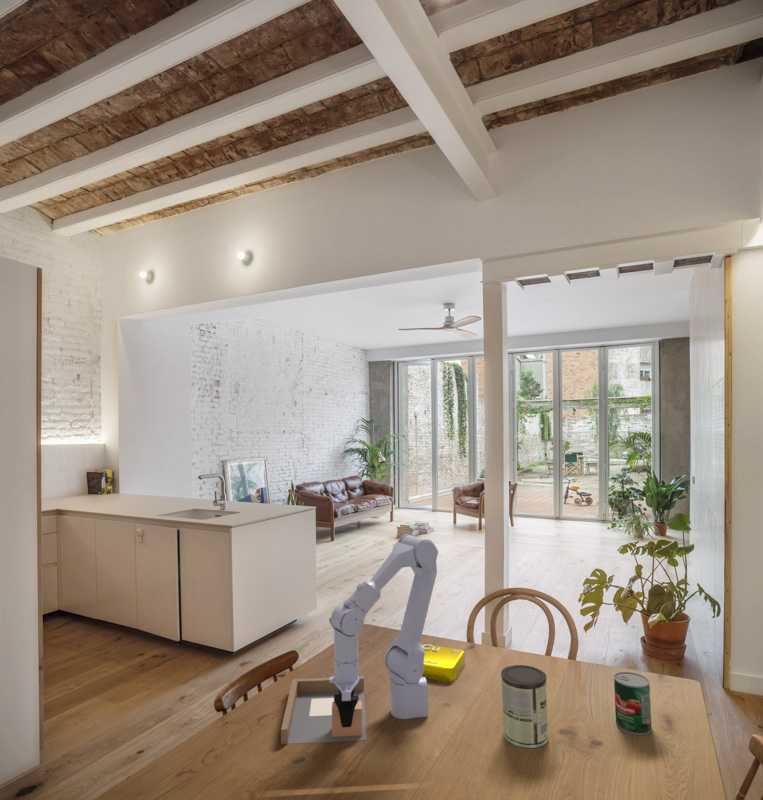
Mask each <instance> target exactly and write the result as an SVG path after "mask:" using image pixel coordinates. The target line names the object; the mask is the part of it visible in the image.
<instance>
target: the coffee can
mask: <svg viewBox="0 0 763 800" xmlns="http://www.w3.org/2000/svg"><path fill="white" fill-rule="evenodd" d="M500 676H501V689H502V690H501V691H502V720H503V737H504V738H505V740H506V741H508V742H509V744H512V745H514V746H517V747H520V748H524V749H525V748H526V749H536V748H540V747H543V746H545V745H546V744H547V743H548V741H549V729H548V727H549V725H548V708H547V707H548V705H547V704H548V701H547V700H548V699H547V698H548V697H547V675H546V673H545V672H544V671H543V670H542V669H539V668H537V667H534V666H531V665H525V664H524V665H523V664H516V665H509V666H506V667H504V668H503V669H502V670H501V671H500Z"/></svg>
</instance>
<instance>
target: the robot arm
mask: <svg viewBox="0 0 763 800" xmlns="http://www.w3.org/2000/svg"><path fill="white" fill-rule="evenodd" d="M438 555H439V549H438V548H437V547H436V544H435V543H434V542H433V541H432V540H431V539H428V538H422V537H417V536H415V535H412V534H409V533H406V534H403V535H401V537H399V539H398V541H396V542H395V543H394V544H393V547H392V550H391V552H390V554H389V555H388V556H387V558H386V560H385V559H384V561H383V563H382V564H381V565H380V567H379V568H378V570H376V573H375V574H374V575H373V576H372V577H371V579H370V580H364V581H362V582H361V583H358V584H357V585H356V589H355V590H354V592H353V593H352V594H351V595H350V596H349V597H348V598H347V599H345V600H344V601H343V604H340V605H337V606H336V607H335V608H334V609H333V610H332V613H331V616H330V617H329V619H328V620H329V624H330V626H331V627H332V628H333V634H334V635H333V646H334V647H333V654H334V655H333V661H334V663H333V665H334V667H333V669H334V674H333V675H334V676H332V675H331V676H329V678H330V679H329V682H330V683H334V684H335V685H336V686H337V688H338V690H339V694H338V695H334V701H335V704H336V705H337V708H338V710H339V715H340V720H341V725H342V727H351V725H352V720H353V714H354V709H355V706H356V704H357V702H358V699H359V695H355V696H353V695H354V690H355V687H356V685H357V684H358V682H359V632H360V631H361V630H362V627H363V625H364V621H365V619H366V616H367V614H368V613H369V612H370V611H371V610H372V609H373V607H374V606H375V605H376V603H377V602H378V601H379V600H380V599H381V590H382V589H383V588H384V587H385V586H386V585H387V584H388V583H389V582H390V581H391V580H392V579H393V578H394V577H395V576H396V575H397V574H398V573H399V572H400V570H402V569H403V568H411V570H412V572H413V573H414V575H413V580H412V583H411V587H410V588H411V589H410V593H409V594H408V595H409V596H408V600H407V604H406V607H405V612H404V616H403V618H402V619H403V620H402V624H401V627H400V631H399V635H398V636H396V637H395V638H393V639H392V641H391V644H390V647H389V648H388V649H387V651H386V652H385V655H384V659H383V660H384V665H385V667H386V669H387V670H388V673H389V674H388V675H389V679H390V680H389V681H390V682H389V685H390V686H389V687H390V688H389V691H390V693H389V694H390V696H389V697H390V715H391V716H393V717H394V718H397V719H400V720H408V719H409V720H411V719H414V718H428V717H429V697H428V695H429V693H428V691H429V689H428V682H427V679H426V677H422V675H423V672H424V655H425V653H424V650H423V648H422V645H421V644H422V643H421V639H422V635H423V631H424V628H425V623H426V619H427V616H428V610H429V606H430V602H431V599H432V596H433V595H432V594H433V591H434V587H435V586H434V585H435V582H436V578H437V573H438V567H437V559H438Z"/></svg>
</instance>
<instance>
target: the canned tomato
mask: <svg viewBox="0 0 763 800" xmlns="http://www.w3.org/2000/svg"><path fill="white" fill-rule="evenodd" d="M613 682H614V683H613V685H614V686H613V687H614V689H613V690H614V706H615V707H614V708H615V711H614V712H615V725H616V727H618V728H619V729H620V730H621V731H623V732H626V733H628V734H631V735H636V736H644V735H648V734H650V733H652V730H653V729H652V709H651V707H652V705H651V689H650V682H651V681H650V679H648V677H646V676H644V675H641V674H639V673H636V672H630V671H619V672H616V673H615V674H613Z"/></svg>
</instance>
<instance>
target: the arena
mask: <svg viewBox="0 0 763 800" xmlns="http://www.w3.org/2000/svg"><path fill="white" fill-rule="evenodd" d="M358 676H359V675H358ZM329 679H330V677H315V678H314V677H313V678H312V677H311V678H293V679H292V681H291V684H290V687H289V688H290V689H289V693H288V698H287V702H286V705H285V712H284V714H283V719H282V724H281V728H280V745H292V744H293V745H296V744H312V743H313V744H314V743H315V744H316V743H336V742H337V743H339V742H352V741H353V742H356V741H358V742H359V741H367V740H368V739H367V721H366V719H367V717H366V703H365V702H366V700H365V676H364V675H361V676H359V682H358V684H357V685H356V687H355V690H354V695H353V696H355V695H359V699H358V701H362V735H359V736H338V737H332V702H335V701H334V695H338V694H339V690H338V688H337V686H336V685H335V684H334V683H330V682H329Z"/></svg>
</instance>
